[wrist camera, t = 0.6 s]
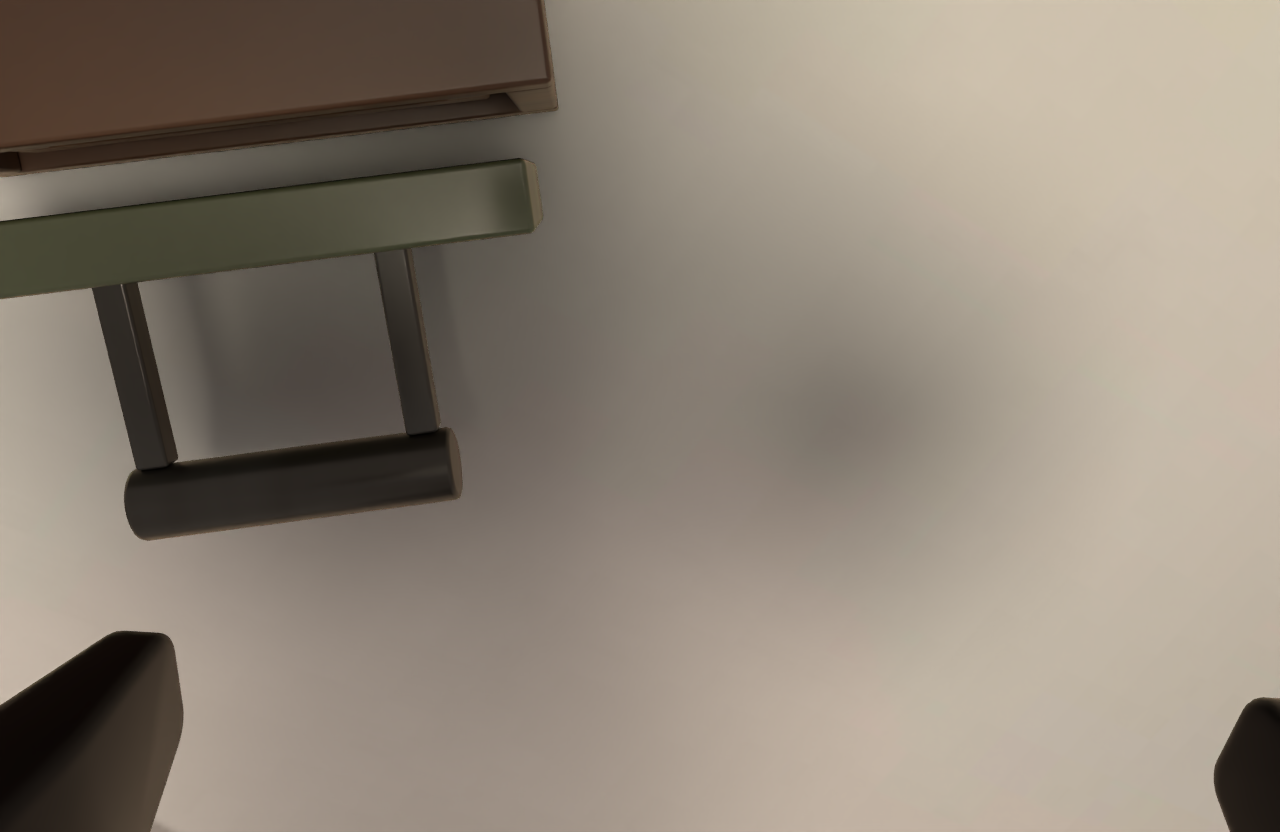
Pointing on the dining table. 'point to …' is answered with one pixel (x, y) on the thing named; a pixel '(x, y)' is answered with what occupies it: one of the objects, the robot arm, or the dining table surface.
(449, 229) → the drawer
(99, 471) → the dining table surface
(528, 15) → the cabinet
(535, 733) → the dining table surface
